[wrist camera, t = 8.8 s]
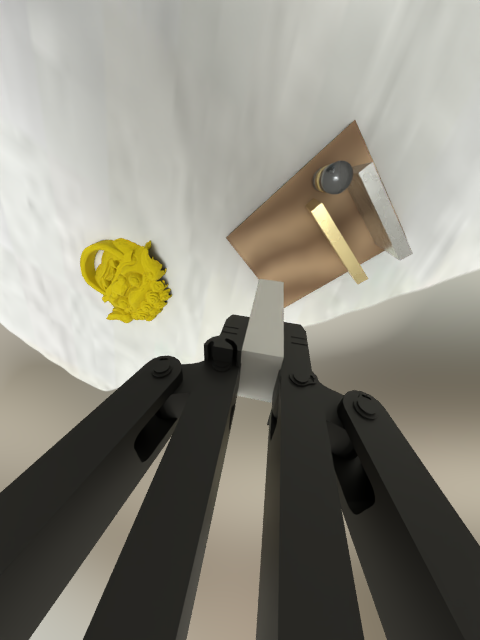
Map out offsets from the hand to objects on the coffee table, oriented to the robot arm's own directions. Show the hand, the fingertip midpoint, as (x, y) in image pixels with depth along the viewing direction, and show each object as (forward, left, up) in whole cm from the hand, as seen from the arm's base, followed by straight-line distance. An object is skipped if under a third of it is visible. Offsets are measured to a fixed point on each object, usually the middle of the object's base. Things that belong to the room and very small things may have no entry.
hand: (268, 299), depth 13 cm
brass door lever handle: (+3, +7, -19) cm, 21 cm away
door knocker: (-10, -27, -21) cm, 36 cm away
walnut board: (+3, +3, -20) cm, 21 cm away
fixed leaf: (+3, +9, -19) cm, 22 cm away
